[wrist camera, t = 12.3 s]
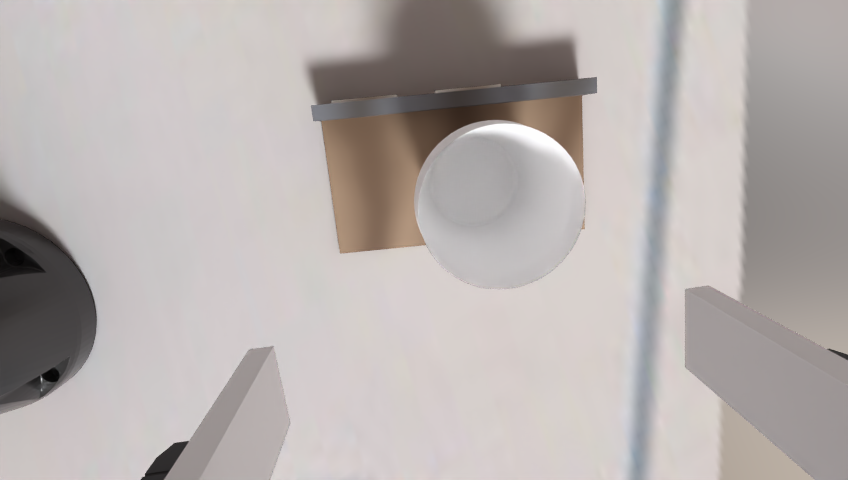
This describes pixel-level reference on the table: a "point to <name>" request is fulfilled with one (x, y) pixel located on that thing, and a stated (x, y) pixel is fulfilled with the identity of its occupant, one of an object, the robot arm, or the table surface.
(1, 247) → the robot arm
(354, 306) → the table surface
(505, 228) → the cup
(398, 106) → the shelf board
